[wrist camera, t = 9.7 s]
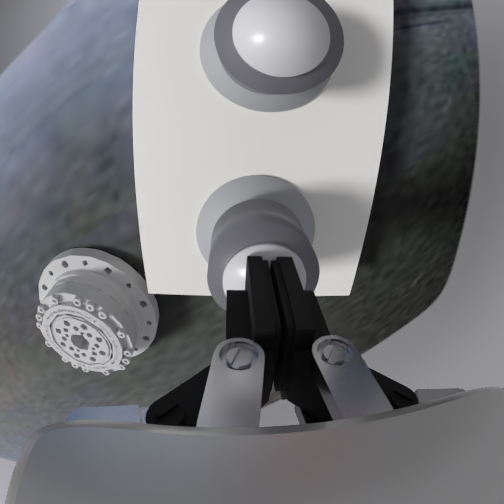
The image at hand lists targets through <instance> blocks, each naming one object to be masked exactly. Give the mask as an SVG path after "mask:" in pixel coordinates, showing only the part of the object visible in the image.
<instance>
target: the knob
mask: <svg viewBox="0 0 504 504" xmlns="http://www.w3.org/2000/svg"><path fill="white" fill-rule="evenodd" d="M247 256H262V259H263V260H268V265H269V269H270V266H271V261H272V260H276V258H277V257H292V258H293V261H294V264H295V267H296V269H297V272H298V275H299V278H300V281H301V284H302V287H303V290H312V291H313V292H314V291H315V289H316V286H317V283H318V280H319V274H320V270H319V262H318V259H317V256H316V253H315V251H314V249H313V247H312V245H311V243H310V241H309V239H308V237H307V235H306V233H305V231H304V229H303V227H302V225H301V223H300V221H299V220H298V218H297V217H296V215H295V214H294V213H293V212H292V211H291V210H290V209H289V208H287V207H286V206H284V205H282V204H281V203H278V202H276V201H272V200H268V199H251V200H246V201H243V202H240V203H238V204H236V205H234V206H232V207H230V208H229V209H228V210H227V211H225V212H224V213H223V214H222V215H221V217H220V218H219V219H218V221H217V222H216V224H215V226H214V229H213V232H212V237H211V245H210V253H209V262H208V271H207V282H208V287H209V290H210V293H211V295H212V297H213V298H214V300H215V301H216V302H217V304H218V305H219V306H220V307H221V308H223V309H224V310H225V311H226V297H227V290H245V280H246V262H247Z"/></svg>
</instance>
